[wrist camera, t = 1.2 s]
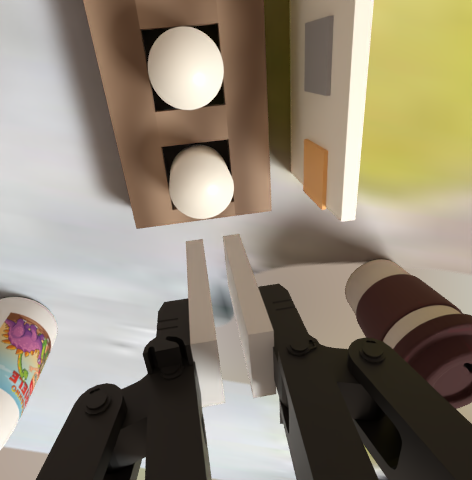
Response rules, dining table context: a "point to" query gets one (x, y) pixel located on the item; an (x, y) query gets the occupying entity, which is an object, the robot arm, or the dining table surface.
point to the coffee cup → (415, 326)
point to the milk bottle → (21, 355)
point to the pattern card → (329, 98)
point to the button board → (177, 120)
